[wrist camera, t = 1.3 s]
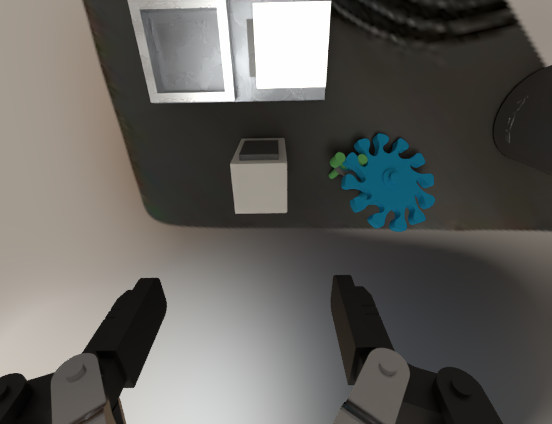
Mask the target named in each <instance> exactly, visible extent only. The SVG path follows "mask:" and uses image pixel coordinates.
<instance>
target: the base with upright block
mask: <svg viewBox="0 0 552 424" xmlns="http://www.w3.org/2000/svg"><path fill="white" fill-rule="evenodd" d="M128 4H129V9H130V13H131V17H132V22H133V26H134V30H135V35H136V39H137V43H138V48H139V52H140V57H141V61H142V65H143V70H144V74H145V78H146V83H147V87H148V91H149V96H150V100H151V103H197V102H243V101H289V100H324V97H325V87H326V74H327V58H328V42H329V26H330V11H331V1H330V0H128Z"/></svg>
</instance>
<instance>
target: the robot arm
mask: <svg viewBox="0 0 552 424" xmlns="http://www.w3.org/2000/svg"><path fill="white" fill-rule="evenodd" d="M494 139H495V144H496V145H497V147H498V149H499V150H500V151H501V152H502V153H503V154H504V155H505V156H507V157H509V158H512V159H514V160H516V161H519V162H521V163H523V164H526V165H528V166H530V167H533V168H535V169H537V170H539V171H542V172H544V173H547V174H549V175H551V176H552V65H551V66H548V67H546V68H544V69H541V70H539V71H537V72H535V73H534V74H532V75H531V76H529V77H527V78H526V79H525V80H524V81H523V82H521V83H520V84H519V85H518V86H517V87H516V88H515V89H514V90H513V91H512V92H511V93H510V94H509V96H508V97H507V98H506V100H505V101H504V103H503V104H502V106H501V108H500V110H499V112H498V115H497V117H496V121H495V125H494ZM166 308H167V302H166V298H165V295H164V292H163V288H162V285H161V282H160V279H159V278H141V279H139V280H138V282H137V283H136V285H135V287H134V288H133V290H128V291H126V292H125V293H124V294H123V295H121V296H120V297H119V298H118V299H117V300H116V302H115V303H114V305H113V306H112V308H111V311H109V313H108V314H107V316H106V317H105V320H103V322H102V323H101V325H100V326H99V328H98V329H97V331H96V333H95V334H94V336H93V337H92V339H91V340H90V342H89V343H88V345H87V346H86V348H85V349H84V351H83V352H82V353H81V354H79V355H76V356H74V357H72V358H70V359H69V360H67V361H66V362H64V363H63V364H62V365H61V366H60V367H59V368H58V369H57V370H56V372H54V373H51V374H48V375H45V376H41V377H38V378H35V379H31V380H28V381H27V380H26V379H25V377H24V376H23V375H22V374H19V373H13V374H8V375H5V376H2V377H0V424H126V421H125V417H124V413H123V409H122V405H121V401H120V398H119V396H120V394H121V392H122V390H123V388H134V387H135V385H136V382H137V380H138V377H139V375H140V373H141V370H142V368H143V366H144V363H145V361H146V359H147V356H148V354H149V351H150V349H151V347H152V345H153V342H154V340H155V338H156V335H157V333H158V331H159V328H160V326H161V324H162V321H163V319H164V317H165V313H166ZM331 312H332V316H333V321H334V325H335V329H336V334H337V337H338V343H339V347H340V351H341V356H342V360H343V365H344V369H345V373H346V378H347V382H348V385H354V387H353V389H352V391H351V393H350V396H349V397H348V399H347V401H346V402H344V403H343V405H342V406H341V408H340V410H339V412H338V415H337V416H336V418H335V421H334V423H333V424H503V423H502V421H501V420H500V418H499V416H498V415H497V413H496V411H495V409H494V407H493V406H492V404H491V402H490V400H489V399H488V397H487V395H486V394H485V392H484V390H483V388H482V387H481V385H480V384H479V383H478V382H477V381H476V380H475V379H474V378H473V377H472V376H471V375H469V374H468V373H466V372H464V371H462V370H460V369H458V368H453V367H445V368H442V369H441V370H440V371H439V372H438V373H434V372H430V371H427V370H423V369H420V368H417V367H414V366H412V365H410V364H408V363H406V362H405V360H404V359H403V358H402V357H401V356H400V355H399V354H398V353H396V352H395V350H394V348H393V346H392V344H391V342H390V339H389V337H388V334H387V332H386V329H385V327H384V325H383V322H382V320H381V317H380V316H379V313H378V310H377V308H376V306H375V303H374V300H373V298H372V295H371V294H370V293H369V292H368V291H367V290H366V289H365V288H364V287H363V286H358V287H355V285H354V282H353V280H352V277H351V275H334V276H333V284H332V292H331Z"/></svg>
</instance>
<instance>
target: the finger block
mask: <svg viewBox="0 0 552 424" xmlns="http://www.w3.org/2000/svg"><path fill="white" fill-rule="evenodd" d="M230 168H231V178H232V187H233V196H234V205H235V214H247V213H287V158H286V148H285V138H248V139H241V141H240V143H239V145H238V148H237V150H236V152H235V154H234V156H233V159H232V161H231V163H230Z"/></svg>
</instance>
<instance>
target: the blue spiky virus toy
mask: <svg viewBox="0 0 552 424" xmlns="http://www.w3.org/2000/svg"><path fill="white" fill-rule="evenodd" d="M388 141H389V137H388V136H387V135H384V134H380V133H378V134H377V135H376V136H375V137H374V138H373V144H374V147H375V153H374V156H372V155H370V153H369V147H370V141H369V140H368V139H361V140H358V141H357V142H356V143H355V144H354V148H355V150H356V151H357V152H358V153H359V154H360V155H359V156H357V155H356V154H355V153H353V152H352V153H350V154H349V155H348V156H347V157H345V155H344V154H343V153H341V152H338V153H336V155H335V156H334V157H333V158H332V159H331V160H330V165H331V166H332V167H333V168H334V170H333V171H332V172H330V173H329V177H330V178H331V179H334V178H335V177H336V176H337V175H338V174H340V175H342V176H344V177H343V178H342V182H341V188H343V189H344V190H349V189H357V190H359V191H361V192H360V193H359V197H356V198H354V199H352V200H351V201H350V205H351V208H352V210H353V212H359V211H361V210H363V209H365V207H366V206H367V205H376V206H378V207H379V210H380V211H379V213H376V214H373V215H371V216H369V217H368V219H367V221H368V223H369V224H370V225H371V226H373V227H374V228H375V229H376V228H379V227H382V226H383V225H384V223H385V218H386V215H387V213H388V212H389V211H390V210H392V211H393V212H394V213H395V218H394V219H393V220H392V221H391V222H390V224H389V228H390V229H391V230H392V231H396V232H402V231H405V230H406V229H407V224H406V221H405V217H404V212H405V208H406V207H407V208H408V209H409V216H408V221H409V223H410V224H411V225H414V224H417V223H421V222H423V221H425V220H426V218H425V215H424V214H423V213H422V212H421V211H420V210H419V208H418V206H417V204H416V200H415V196H416V197H417V199H418V203H419V206H420V207H421V208H422V209H427V208H429V207H431V206H432V205H433V204H434V202H435V198H434V197H433V196H432V195H429V194H427V193H425V192H424V191H423V190H421V188H420V187H419V186H418V184H417V182H418V183H419V184H420V186H421V187H423V188H428V187H430V186H433V184H434V176H433V175H432V174H430V173H428V174H420V173H417V172H415V171H413V170H412V169H411V167H410V166H412V167H414V168H418V167H420V166H422V165H423V164H425V160H424V158H423V156H422V154H421V153H417V154H415V155H414V156H412V157H411V158H410V159H402V158H400V157H399V155H398V153H402V152H403V151H405V150H406V149H408V147H409V145H408V143H407V142H406V141H405V140H403V139H402V138H400V139H399V140H397V141H396V142H395V143H394V144H393V148H392V151H391V152H390V153H389V154H388V153H386V152H385V151H384V150H383V146H384V145H385V144H386V143H388ZM363 165H364V167H363ZM416 181H417V182H416ZM366 199H367V200H366Z"/></svg>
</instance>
